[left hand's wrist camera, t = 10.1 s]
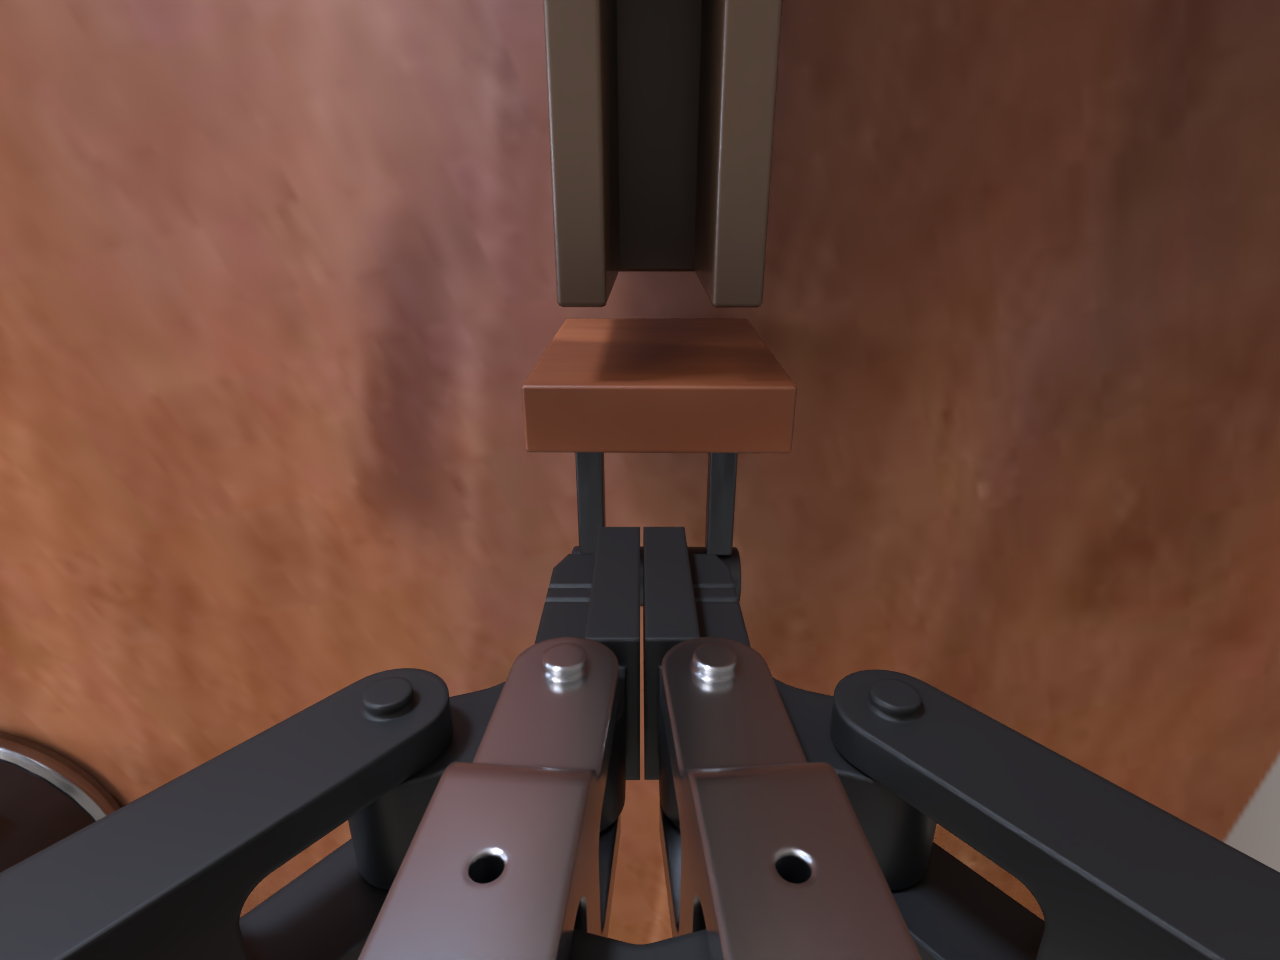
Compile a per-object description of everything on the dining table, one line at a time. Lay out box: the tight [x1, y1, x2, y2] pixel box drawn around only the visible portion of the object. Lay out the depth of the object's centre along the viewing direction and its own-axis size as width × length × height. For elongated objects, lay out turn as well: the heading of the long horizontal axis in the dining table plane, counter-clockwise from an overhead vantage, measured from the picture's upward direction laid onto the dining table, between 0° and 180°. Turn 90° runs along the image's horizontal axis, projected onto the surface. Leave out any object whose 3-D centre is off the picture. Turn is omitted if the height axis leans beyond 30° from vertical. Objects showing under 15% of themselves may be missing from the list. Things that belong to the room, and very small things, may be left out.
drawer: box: [522, 0, 797, 606], centre depth 12 cm, size 25×5×6 cm, turn 0°
